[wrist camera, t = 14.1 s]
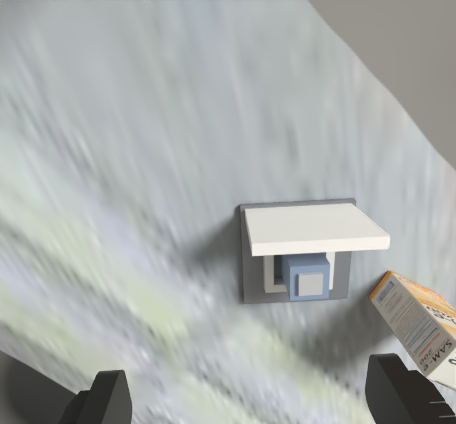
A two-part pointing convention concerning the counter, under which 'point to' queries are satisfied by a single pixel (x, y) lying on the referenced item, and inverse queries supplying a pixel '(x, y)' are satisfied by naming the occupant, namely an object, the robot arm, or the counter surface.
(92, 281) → the counter surface
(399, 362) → the robot arm
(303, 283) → the block
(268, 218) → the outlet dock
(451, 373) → the supplement box
